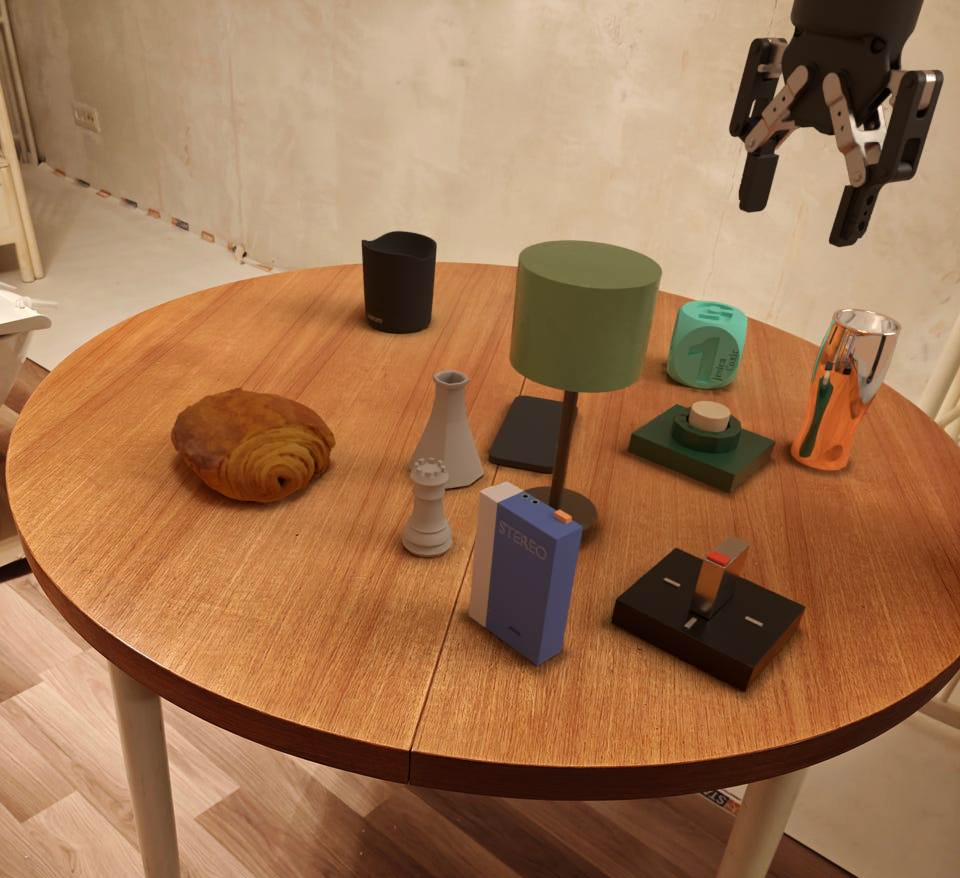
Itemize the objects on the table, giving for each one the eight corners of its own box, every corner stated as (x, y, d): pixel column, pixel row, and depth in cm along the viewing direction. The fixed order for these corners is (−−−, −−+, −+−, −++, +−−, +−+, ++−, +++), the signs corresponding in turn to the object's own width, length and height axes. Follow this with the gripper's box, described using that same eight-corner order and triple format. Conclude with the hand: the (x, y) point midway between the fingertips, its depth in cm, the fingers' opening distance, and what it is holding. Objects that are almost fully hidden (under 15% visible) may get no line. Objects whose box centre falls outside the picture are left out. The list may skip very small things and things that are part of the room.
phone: (485, 455, 90) (516, 393, 101) (485, 463, 90) (515, 400, 101) (557, 468, 89) (580, 404, 100) (556, 476, 89) (579, 411, 100)
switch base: (770, 459, 95) (781, 425, 93) (729, 493, 89) (739, 458, 86) (672, 421, 100) (680, 388, 98) (627, 451, 94) (634, 417, 92)
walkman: (561, 651, 69) (584, 521, 61) (537, 666, 67) (557, 535, 59) (492, 602, 73) (505, 474, 65) (467, 615, 71) (478, 486, 64)
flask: (395, 466, 88) (396, 371, 82) (451, 447, 92) (456, 354, 86) (439, 498, 84) (444, 401, 78) (497, 477, 88) (505, 382, 82)
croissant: (217, 541, 80) (208, 470, 74) (157, 444, 88) (144, 374, 82) (359, 499, 87) (361, 430, 81) (291, 412, 94) (289, 344, 89)
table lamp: (632, 521, 84) (688, 266, 68) (568, 571, 77) (613, 300, 62) (538, 479, 89) (570, 231, 73) (470, 522, 82) (489, 259, 66)
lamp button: (732, 425, 93) (737, 409, 92) (715, 437, 90) (719, 422, 89) (699, 412, 94) (702, 397, 93) (681, 424, 92) (684, 408, 91)
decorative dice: (665, 384, 108) (680, 319, 103) (666, 359, 114) (680, 296, 109) (731, 394, 107) (749, 329, 102) (729, 367, 113) (745, 305, 108)
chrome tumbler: (773, 452, 96) (817, 316, 87) (808, 435, 100) (853, 302, 90) (829, 480, 93) (881, 340, 83) (863, 461, 96) (917, 325, 87)
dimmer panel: (796, 630, 73) (807, 604, 71) (744, 692, 67) (754, 666, 65) (669, 570, 78) (676, 545, 76) (610, 623, 72) (615, 597, 70)
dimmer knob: (714, 585, 73) (730, 531, 69) (734, 594, 72) (751, 541, 68) (688, 610, 70) (704, 555, 66) (708, 620, 69) (725, 565, 66)
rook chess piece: (394, 552, 77) (394, 472, 72) (412, 526, 81) (414, 447, 75) (442, 564, 76) (446, 483, 71) (458, 537, 80) (463, 458, 75)
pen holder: (360, 307, 120) (358, 229, 113) (428, 308, 121) (431, 231, 115) (365, 335, 113) (364, 254, 106) (438, 335, 115) (442, 255, 108)
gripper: (1021, -50, 49) (910, 252, 60) (825, -70, 58) (759, 196, 69) (938, -56, 46) (836, 264, 57) (744, -76, 55) (687, 204, 66)
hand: (794, 226), depth 63 cm, fingers open, 8 cm apart
